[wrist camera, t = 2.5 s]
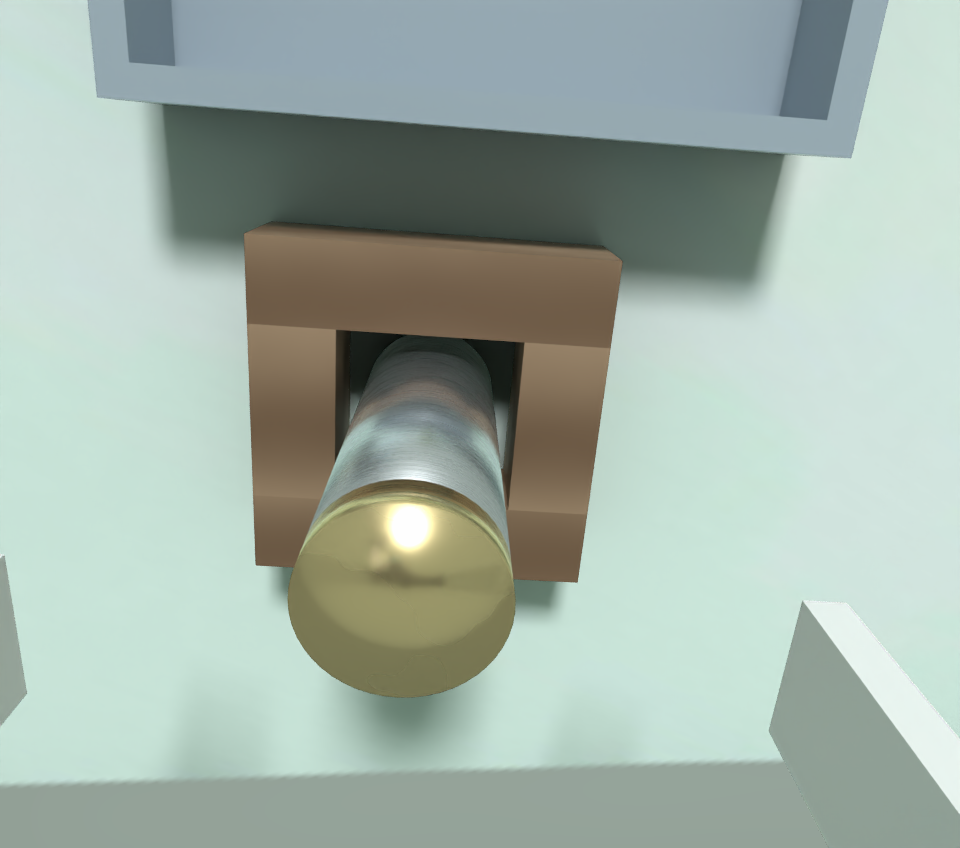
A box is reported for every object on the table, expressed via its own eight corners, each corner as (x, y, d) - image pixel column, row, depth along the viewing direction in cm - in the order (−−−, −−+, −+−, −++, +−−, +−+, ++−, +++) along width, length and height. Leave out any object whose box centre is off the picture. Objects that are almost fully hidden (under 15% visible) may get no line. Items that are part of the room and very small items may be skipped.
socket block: (271, 221, 22) (243, 233, 20) (603, 246, 23) (622, 261, 20) (278, 519, 26) (255, 565, 23) (565, 535, 26) (577, 582, 24)
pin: (370, 326, 24) (285, 498, 12) (496, 335, 24) (525, 511, 13) (367, 444, 25) (289, 692, 14) (486, 451, 25) (505, 702, 14)
